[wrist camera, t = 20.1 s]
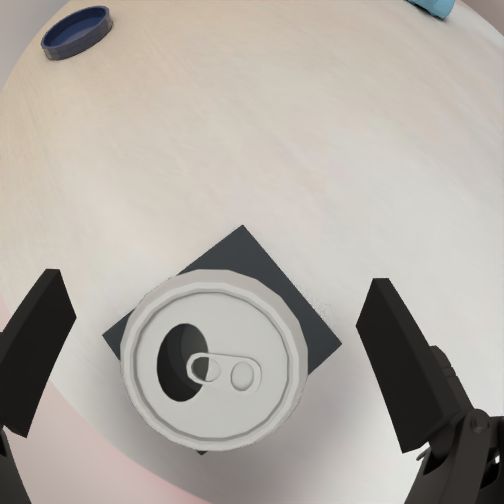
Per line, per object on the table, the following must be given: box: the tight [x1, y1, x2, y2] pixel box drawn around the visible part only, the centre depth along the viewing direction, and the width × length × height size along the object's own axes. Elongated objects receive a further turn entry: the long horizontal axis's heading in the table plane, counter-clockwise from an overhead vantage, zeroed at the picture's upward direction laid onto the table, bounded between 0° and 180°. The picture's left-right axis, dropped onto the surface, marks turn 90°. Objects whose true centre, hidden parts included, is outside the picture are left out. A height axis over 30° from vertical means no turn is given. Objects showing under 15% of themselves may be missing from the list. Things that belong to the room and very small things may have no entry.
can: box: [120, 269, 308, 451], centre depth 15 cm, size 8×8×12 cm
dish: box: [41, 6, 112, 60], centre depth 28 cm, size 11×11×2 cm
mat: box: [102, 225, 342, 455], centre depth 21 cm, size 14×12×1 cm
